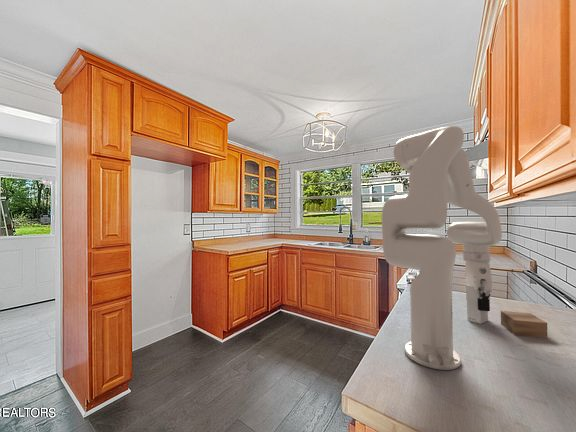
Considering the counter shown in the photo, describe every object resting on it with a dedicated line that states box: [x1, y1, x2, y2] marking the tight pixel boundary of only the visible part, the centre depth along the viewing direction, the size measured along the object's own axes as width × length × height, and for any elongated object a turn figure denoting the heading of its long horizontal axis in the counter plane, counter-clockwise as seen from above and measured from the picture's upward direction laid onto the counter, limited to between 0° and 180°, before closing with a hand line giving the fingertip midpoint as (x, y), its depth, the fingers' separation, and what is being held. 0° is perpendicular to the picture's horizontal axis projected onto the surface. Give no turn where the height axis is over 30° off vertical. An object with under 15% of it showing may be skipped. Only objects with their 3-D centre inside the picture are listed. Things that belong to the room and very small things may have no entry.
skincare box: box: [465, 284, 489, 325], centre depth 88 cm, size 6×4×12 cm
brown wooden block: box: [500, 310, 548, 339], centre depth 79 cm, size 8×8×4 cm
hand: (477, 305), depth 88 cm, fingers open, 9 cm apart
